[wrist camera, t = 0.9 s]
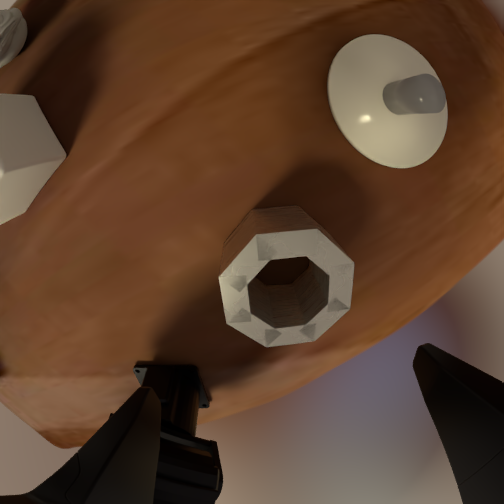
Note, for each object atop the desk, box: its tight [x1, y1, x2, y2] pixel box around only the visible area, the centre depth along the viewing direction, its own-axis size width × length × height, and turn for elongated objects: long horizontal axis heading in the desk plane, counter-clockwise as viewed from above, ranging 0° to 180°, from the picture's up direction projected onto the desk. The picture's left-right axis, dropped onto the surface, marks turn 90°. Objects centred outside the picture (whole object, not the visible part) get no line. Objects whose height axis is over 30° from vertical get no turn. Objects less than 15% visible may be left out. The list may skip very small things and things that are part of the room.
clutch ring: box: [219, 205, 354, 347], centre depth 17 cm, size 7×7×5 cm
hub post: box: [327, 34, 448, 168], centre depth 13 cm, size 10×10×5 cm
